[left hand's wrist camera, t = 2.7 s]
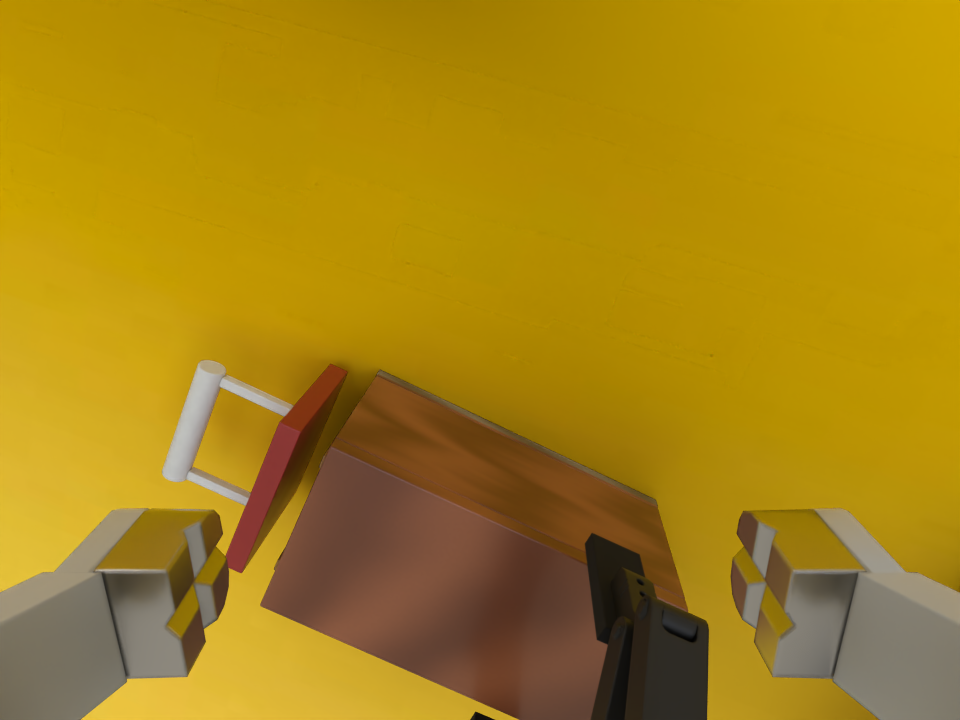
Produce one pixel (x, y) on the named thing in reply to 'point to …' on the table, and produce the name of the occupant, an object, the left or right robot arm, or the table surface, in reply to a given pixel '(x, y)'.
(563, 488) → the cabinet
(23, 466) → the table surface
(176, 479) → the drawer
